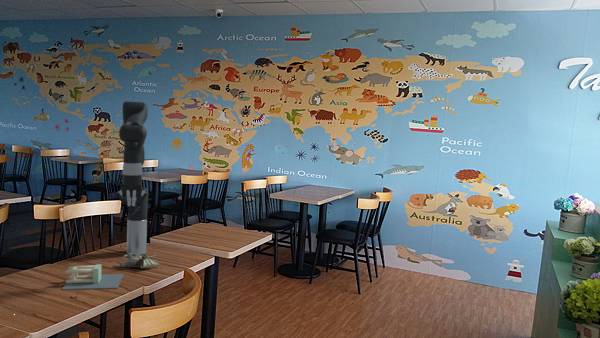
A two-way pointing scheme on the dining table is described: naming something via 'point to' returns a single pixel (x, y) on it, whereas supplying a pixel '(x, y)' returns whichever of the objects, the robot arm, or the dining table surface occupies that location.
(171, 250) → the dining table surface
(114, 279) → the mat
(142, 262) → the figurine
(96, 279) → the stool
